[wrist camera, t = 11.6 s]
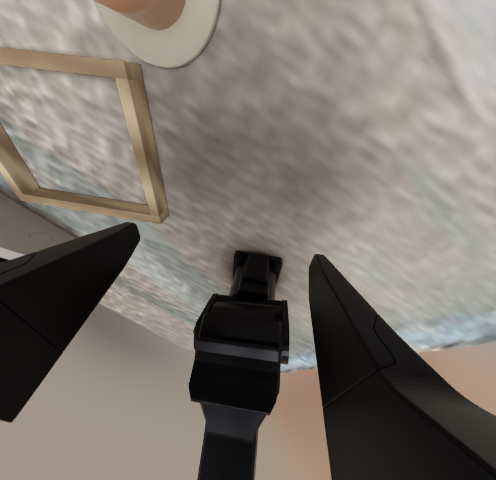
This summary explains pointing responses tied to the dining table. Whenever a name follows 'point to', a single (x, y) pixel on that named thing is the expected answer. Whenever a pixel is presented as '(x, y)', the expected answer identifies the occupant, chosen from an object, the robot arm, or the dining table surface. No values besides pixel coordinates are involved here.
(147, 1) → the terracotta pot
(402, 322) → the dining table surface
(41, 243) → the light grey slab casing
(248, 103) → the dining table surface
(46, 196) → the wooden frame
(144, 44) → the cream saucer
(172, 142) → the dining table surface
